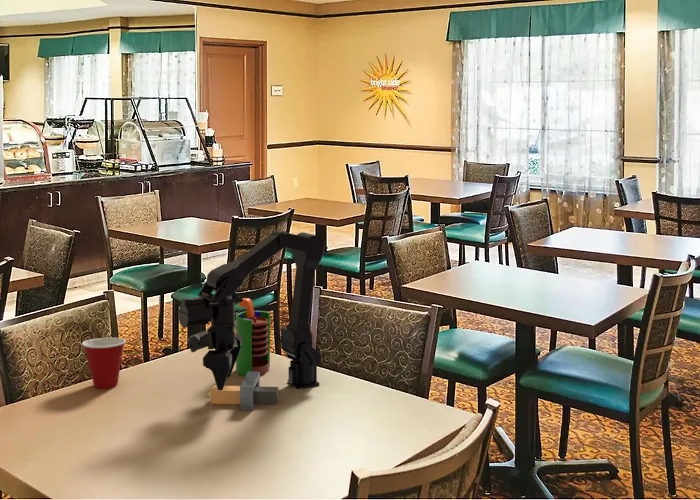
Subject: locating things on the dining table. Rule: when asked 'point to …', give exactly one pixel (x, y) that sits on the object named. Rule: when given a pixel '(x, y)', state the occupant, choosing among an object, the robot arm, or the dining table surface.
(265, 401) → the plug
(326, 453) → the dining table surface
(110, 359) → the plastic cup
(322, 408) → the dining table surface
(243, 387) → the housing
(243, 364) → the green tall cylinder
